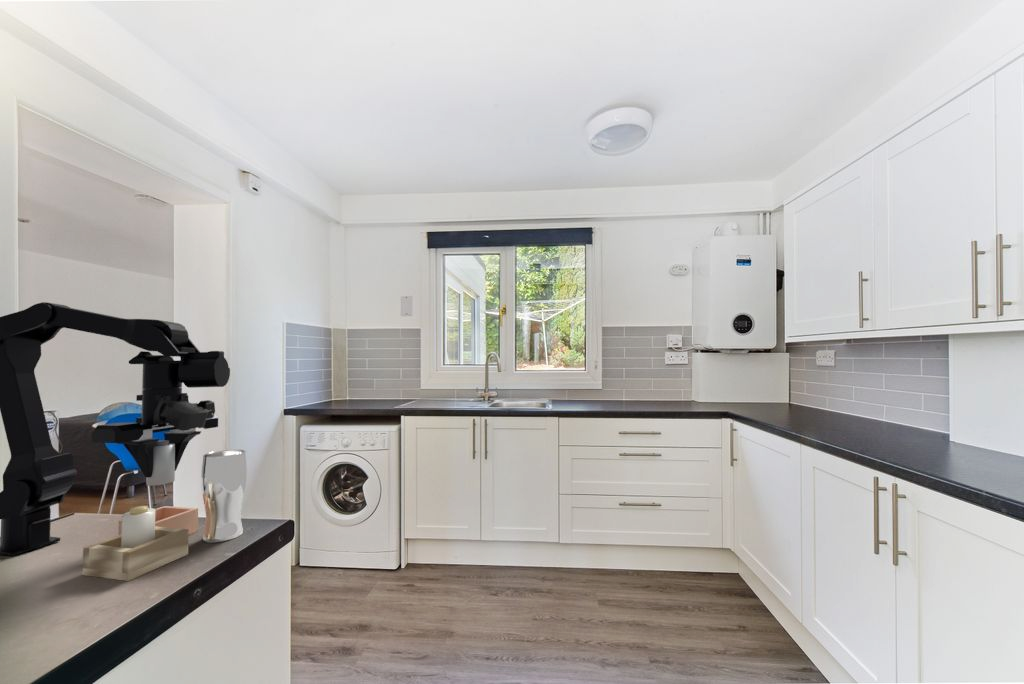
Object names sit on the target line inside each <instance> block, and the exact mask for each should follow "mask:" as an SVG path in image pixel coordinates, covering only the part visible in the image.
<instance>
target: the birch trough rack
mask: <svg viewBox="0 0 1024 684" xmlns="http://www.w3.org/2000/svg"><path fill="white" fill-rule="evenodd" d="M189 538H190V537H189V529H178V528H167V527H156V526H155V540H153V541H150V542H147V543H145V544H142V545H140V546H137V547H134V548H123V547H121V535H115V536H113V537H110V538H107V539H103V540H101V541H98V542H95V543H91V544H89V545H87V546H84V547H82V576H87V577H88V576H90V577H97V578H102V579H103V578H104V579H111V580H118V581H119V580H120V581H125V582H129V581H131V580H133V579H136V578H138V577H140V576H143V575H145V574H147V573H149V572H152V571H153V570H156V569H158V568H161V567H162V566H165V565H167V564H169V563H171V562H173V561H176V560H178V559H181V558H183V557H185V556H187V555H189Z"/></svg>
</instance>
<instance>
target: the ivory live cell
mask: <svg viewBox="0 0 1024 684" xmlns="http://www.w3.org/2000/svg"><path fill="white" fill-rule="evenodd" d="M155 509H156V508H152V507H151V508H149V506H148V505H139V506H135V507H134V506H133V507H132V508H130V509H129V511H127V512H125V513H123V514H122V515H121V520H122V533H121V547H123V548H134V547H137V546H140V545H142V544H145V543H147V542H150V541H153V540H155Z"/></svg>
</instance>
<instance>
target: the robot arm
mask: <svg viewBox="0 0 1024 684" xmlns="http://www.w3.org/2000/svg"><path fill="white" fill-rule="evenodd" d="M61 329H69V330H70V329H71V330H74V331H81V332H85V333H90V334H97V335H101V336H106V337H110V338H116V339H119V340H121V341H124V342H125V343H127V344H129V345H131V346H134V347H137V348H140V349H141V350H142V349H143V350H144V351H143V350H142V351H139V352H138V354H137V355H136V356H133V357H132V358H131V359H130V360H128V364H130V365H142V380H141V381H142V385H141V386H142V391H141V394H136V401H137V402H138V401H141V417H136V418H135V422H115V423H114V422H113V423H106V424H97V425H96V427H95V428H94V429H93V430H92V431H91V443H95V444H98V443H99V444H117V445H123V446H124V447H125V449H126V450H127V452H129V454H130V455H131V456H132V458H133V460H135V463H136V464H137V466H138V468H139V469H140V472H141V473H142V474H143V476H144V477H145V478H147V477H148V478H149V477H152V472H153V448H154V446H155V445H156V443H157V442H158V441H160V438H153V434H154V433H160V432H161V433H162V432H165V433H163V436H164V439H163V440H169V443H175V472H176V471H177V470H178V469H177V468H178V467H179V464H180V462H181V459H182V458H183V454H184V452H185V450H186V448H187V446H188V444H189V443H190V441H191V440H192V439H194V438H195V437H196V436H198V435H201V433H202V431H199V430H196V429H204V430H207V429H214V428H215V429H216V428H218V427H219V417H218V416H217V415H216V413H215V412H216V407H215V401H212V400H211V399H210V400H209V399H208V400H206V399H205V400H200V401H199V402H194V403H193V402H192V403H191V402H189V395H188V392H183V384H184V386H185V387H186V388H188V389H191V388H192V389H193V388H195V389H197V388H223V387H225V386H226V385H227V384H228V383H229V380H230V375H231V369H230V367H229V364H228V361H227V359H226V358H225V352H224V351H222V350H212V351H211V350H210V351H202V352H201V351H200V350H199V348H198V347H197V346H196V345H195V344H194V342H193V341H192V340H191V339H190V338H189V333H188V330H187V329H186V327H185V326H184V325H183V324H181V323H179V322H173V321H167V320H166V321H165V320H159V319H152V318H151V319H149V318H148V319H147V318H122V317H118V316H113V315H109V314H103V313H98V312H93V311H88V310H83V309H78V308H72V307H69V306H68V305H65V304H58V303H51V302H44V301H43V302H39V303H35V304H33V305H31V306H29V307H28V308H25V309H23V310H19V311H17V312H13V313H9V314H5V315H2V316H0V414H1V415H0V416H1V419H2V423H3V428H4V433H5V436H6V440H7V444H8V449H9V452H10V453H9V454H10V458H9V461H8V463H7V465H6V467H5V470H4V472H3V474H2V491H0V555H4V556H16V555H20V554H23V553H26V552H29V551H32V550H34V549H38V548H41V547H45V546H47V545H48V546H49V545H50V544H54V543H57V542H60V541H61V537H59V536H51V525H52V524H51V523H52V522H51V520H52V519H51V512H52V511H51V510H52V509H51V507H52V506H54V505H59V504H61V503H63V501H64V499H65V497H66V494H67V492H68V491H69V490H70V489H71V487H72V486H73V485H74V484H75V475H77V474H78V473H79V472H78V470H76V468H75V466H74V457H73V454H72V453H71V452H66V453H63V454H61V453H60V452H59V451H58V450H56V449H55V448H54V446H53V444H52V440H51V439H52V438H51V435H50V432H49V428H48V423H47V419H46V414H45V412H44V411H45V410H44V406H43V403H42V400H41V395H40V391H39V386H38V382H37V378H36V374H35V369H36V367H37V365H38V363H39V361H40V359H41V357H42V345H44V344H45V343H47V342H49V341H50V340H53V339H54V338H55V337H56V336H57V334H59V332H60V331H61ZM151 352H157V353H159V355H158V354H157V355H155V354H152V353H151ZM173 357H177V358H180V360H174V358H173ZM167 431H169V432H167Z"/></svg>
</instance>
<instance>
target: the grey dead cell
mask: <svg viewBox="0 0 1024 684" xmlns="http://www.w3.org/2000/svg"><path fill="white" fill-rule="evenodd" d="M175 472H176V471H175V443H169V440H165V439H163V440H158V442H157V443H156V445H155V446H154V448H153V472H152V477H149V478H148V477H146V485H145V486H148V487H149V486H150V487H154V486H161V485H167V484H171V483H174V482H175V479H176V478H175V477H176V476H175V475H176V473H175Z"/></svg>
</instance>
